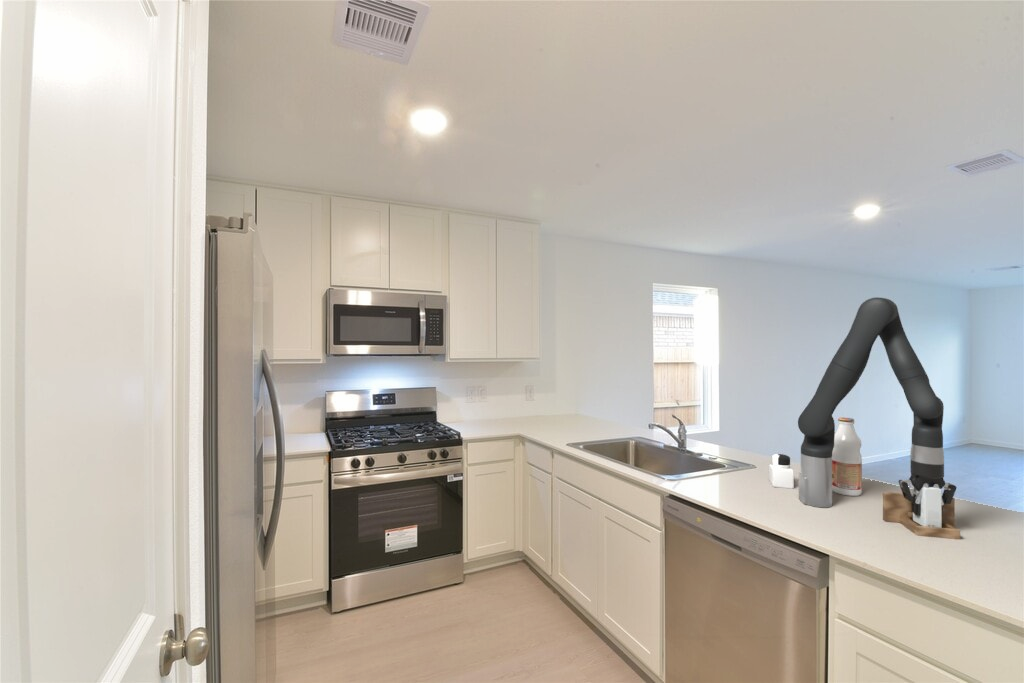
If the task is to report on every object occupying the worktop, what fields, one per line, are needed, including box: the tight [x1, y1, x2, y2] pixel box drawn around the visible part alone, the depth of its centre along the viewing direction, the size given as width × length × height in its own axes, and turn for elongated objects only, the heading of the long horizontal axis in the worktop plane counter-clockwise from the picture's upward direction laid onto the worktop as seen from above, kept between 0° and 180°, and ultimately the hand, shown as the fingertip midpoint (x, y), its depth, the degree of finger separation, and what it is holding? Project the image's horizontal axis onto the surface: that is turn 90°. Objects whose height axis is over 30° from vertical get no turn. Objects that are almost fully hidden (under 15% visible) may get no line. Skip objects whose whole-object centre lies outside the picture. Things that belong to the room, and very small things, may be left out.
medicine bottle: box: [768, 453, 795, 490], centre depth 177 cm, size 7×7×12 cm
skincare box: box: [912, 485, 942, 528], centre depth 136 cm, size 6×4×12 cm
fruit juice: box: [832, 416, 863, 497], centre depth 169 cm, size 9×9×28 cm
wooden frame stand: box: [882, 491, 961, 540], centre depth 136 cm, size 18×11×9 cm, turn 75°
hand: (926, 515), depth 136 cm, fingers closed on skincare box, 4 cm apart
